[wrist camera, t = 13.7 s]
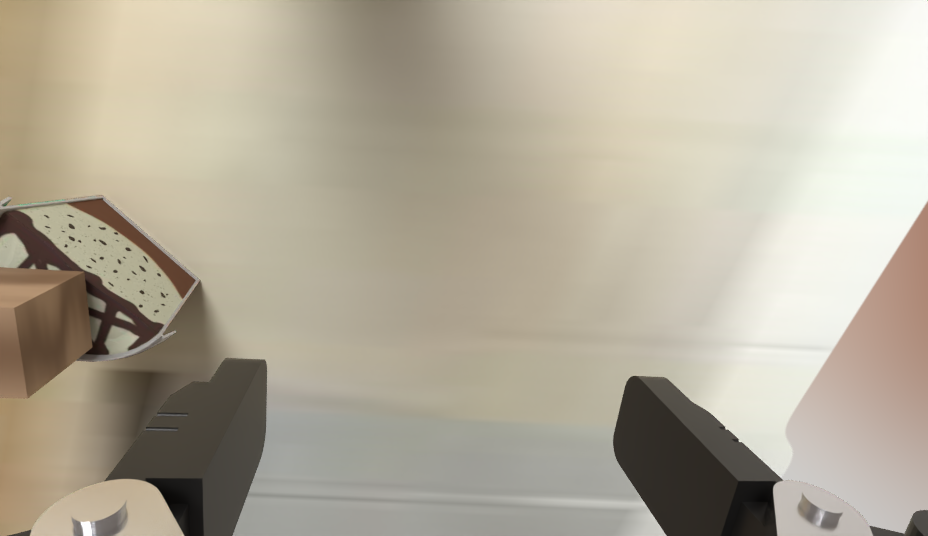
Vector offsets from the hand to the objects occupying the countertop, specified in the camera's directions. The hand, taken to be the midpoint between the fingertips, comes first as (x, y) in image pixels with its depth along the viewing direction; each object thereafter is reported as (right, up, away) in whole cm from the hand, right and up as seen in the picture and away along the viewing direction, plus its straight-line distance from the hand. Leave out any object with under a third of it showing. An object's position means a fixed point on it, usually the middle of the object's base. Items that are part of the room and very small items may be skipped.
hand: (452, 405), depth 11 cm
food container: (-27, +3, +29) cm, 40 cm away
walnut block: (-25, +1, +19) cm, 32 cm away
